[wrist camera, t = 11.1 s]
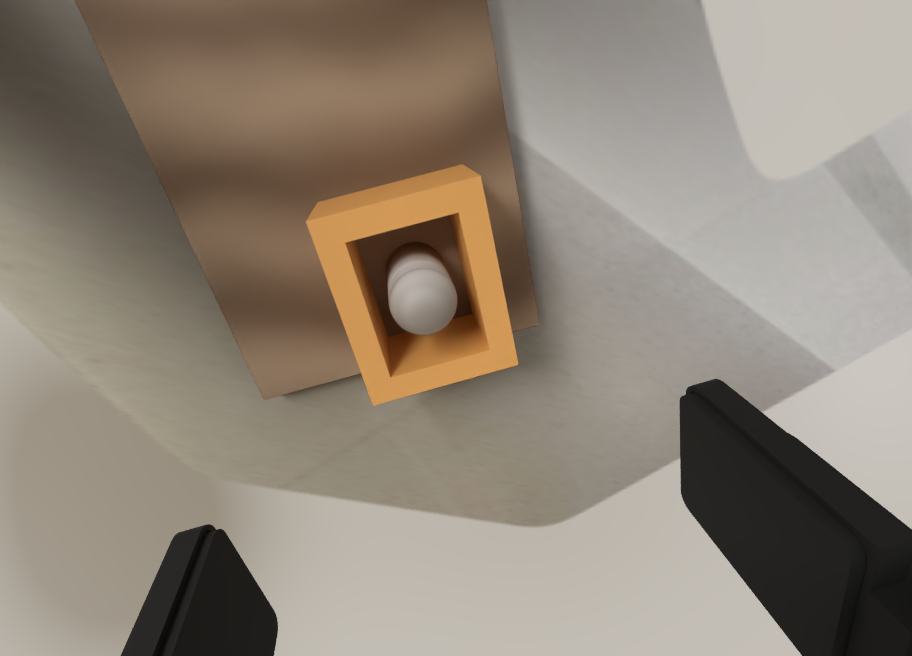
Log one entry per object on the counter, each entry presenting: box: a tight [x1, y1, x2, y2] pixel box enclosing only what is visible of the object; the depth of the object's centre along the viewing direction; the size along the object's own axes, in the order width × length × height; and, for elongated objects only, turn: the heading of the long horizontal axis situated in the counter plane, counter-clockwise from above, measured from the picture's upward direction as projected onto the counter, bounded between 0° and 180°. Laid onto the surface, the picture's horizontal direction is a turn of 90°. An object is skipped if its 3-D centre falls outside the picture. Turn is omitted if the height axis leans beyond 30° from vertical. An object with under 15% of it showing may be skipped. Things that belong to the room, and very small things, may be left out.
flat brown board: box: [75, 0, 539, 400], centre depth 21 cm, size 22×16×8 cm
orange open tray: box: [306, 164, 519, 406], centre depth 23 cm, size 9×7×4 cm
